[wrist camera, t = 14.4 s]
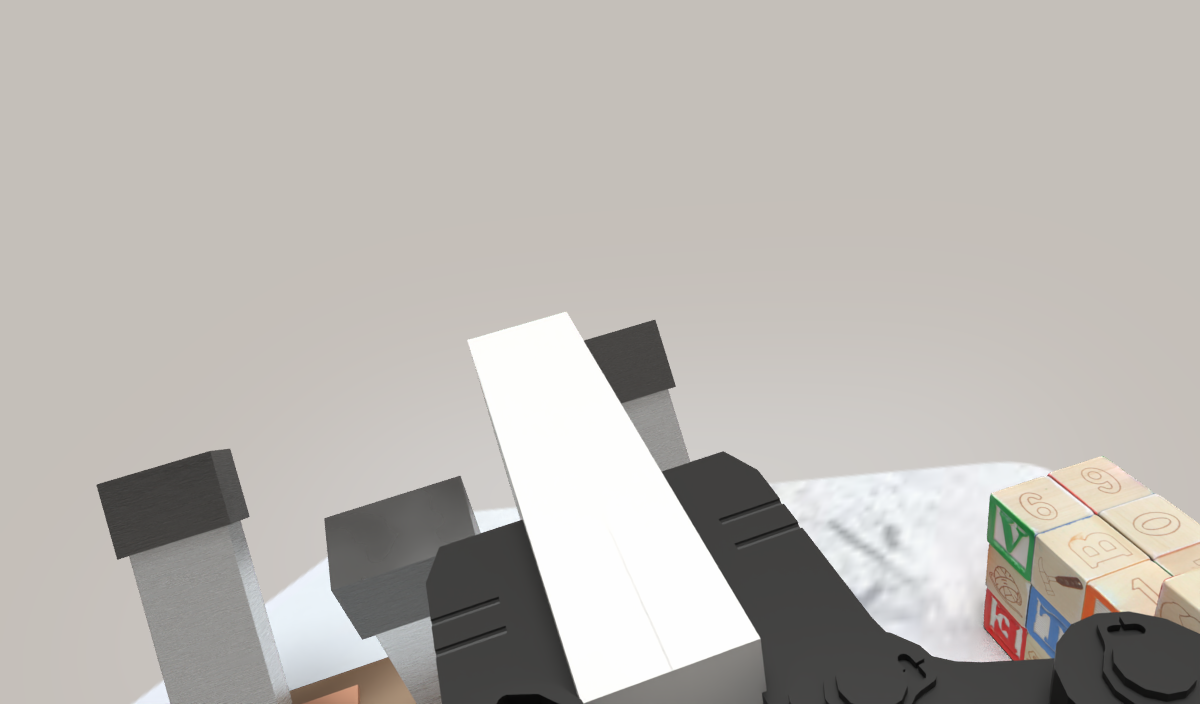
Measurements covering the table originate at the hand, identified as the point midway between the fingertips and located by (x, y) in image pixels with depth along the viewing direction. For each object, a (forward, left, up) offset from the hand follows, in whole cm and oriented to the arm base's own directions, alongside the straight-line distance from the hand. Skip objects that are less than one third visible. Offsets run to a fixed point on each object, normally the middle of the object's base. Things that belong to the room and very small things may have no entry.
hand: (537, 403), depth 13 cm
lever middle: (-9, +13, -24) cm, 29 cm away
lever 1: (-19, +9, -24) cm, 32 cm away
